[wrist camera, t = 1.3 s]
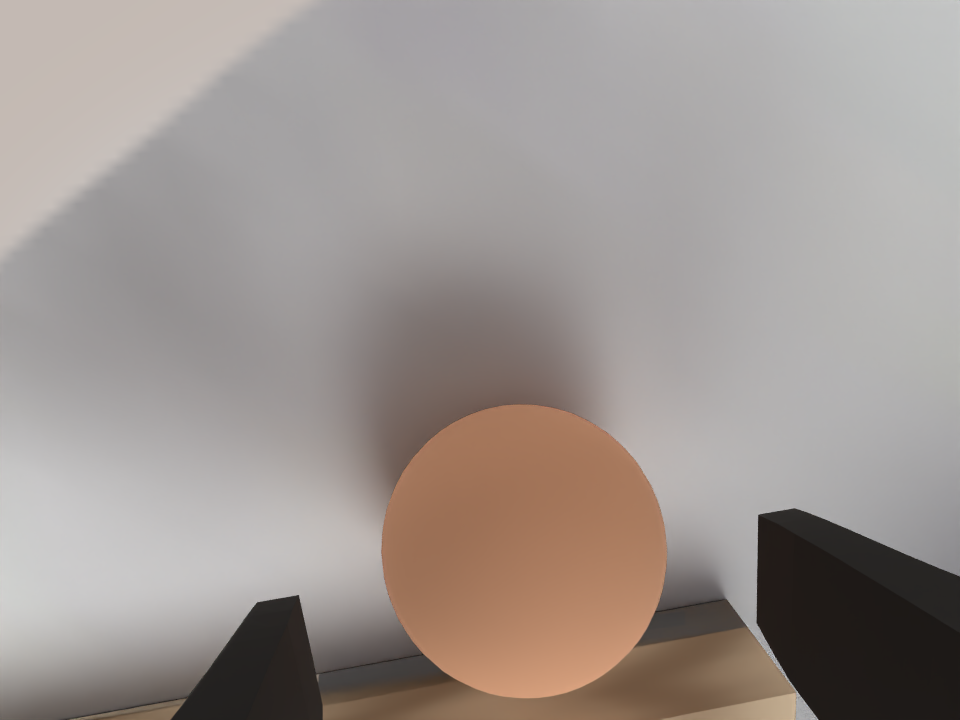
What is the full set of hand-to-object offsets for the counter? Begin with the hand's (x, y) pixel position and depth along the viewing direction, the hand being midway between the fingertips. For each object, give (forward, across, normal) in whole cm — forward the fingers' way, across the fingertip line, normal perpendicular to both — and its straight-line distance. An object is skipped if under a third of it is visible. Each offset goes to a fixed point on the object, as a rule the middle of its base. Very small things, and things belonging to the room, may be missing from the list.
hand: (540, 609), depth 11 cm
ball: (+2, 0, 0) cm, 2 cm away
